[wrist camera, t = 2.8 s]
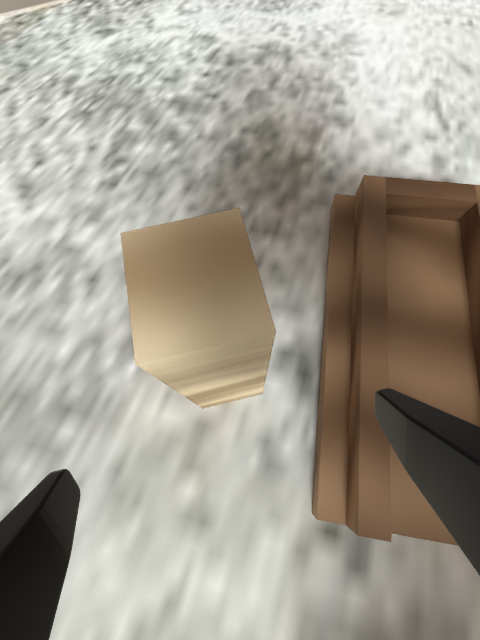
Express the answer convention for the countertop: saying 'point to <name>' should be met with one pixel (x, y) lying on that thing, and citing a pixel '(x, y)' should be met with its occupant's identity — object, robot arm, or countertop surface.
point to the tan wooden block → (199, 307)
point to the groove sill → (394, 343)
